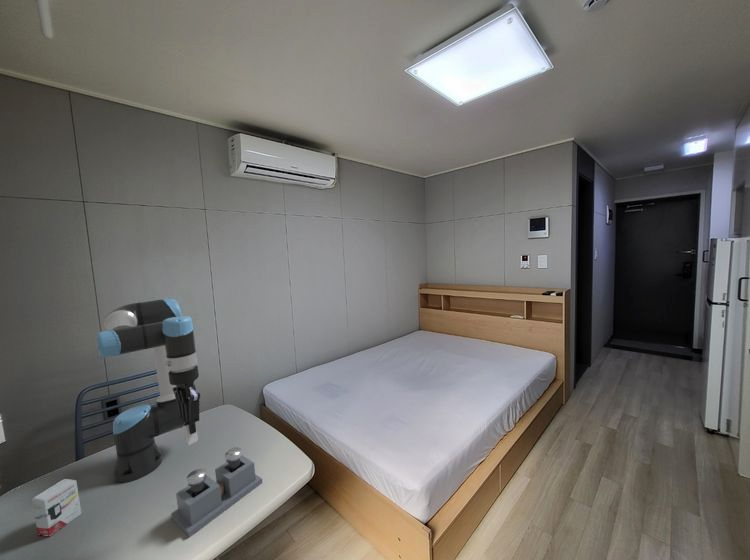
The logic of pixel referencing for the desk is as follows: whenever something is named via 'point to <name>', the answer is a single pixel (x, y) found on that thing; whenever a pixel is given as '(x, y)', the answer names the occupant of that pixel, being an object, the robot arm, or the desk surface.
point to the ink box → (56, 506)
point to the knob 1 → (197, 481)
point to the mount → (214, 496)
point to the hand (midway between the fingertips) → (192, 442)
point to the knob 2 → (233, 459)
